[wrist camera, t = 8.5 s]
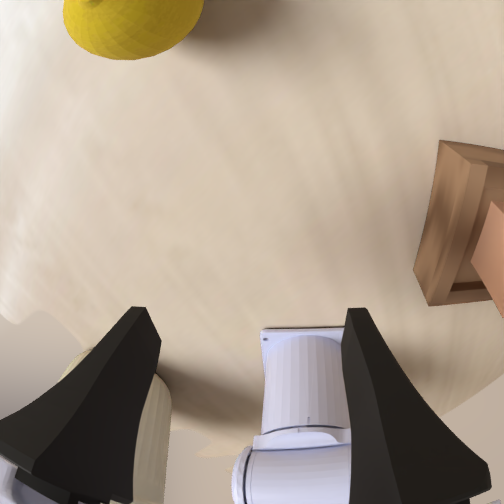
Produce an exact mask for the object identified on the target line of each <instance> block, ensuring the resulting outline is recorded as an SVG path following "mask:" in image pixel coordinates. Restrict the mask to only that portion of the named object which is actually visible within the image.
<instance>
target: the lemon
mask: <svg viewBox="0 0 504 504" xmlns="http://www.w3.org/2000/svg"><path fill="white" fill-rule="evenodd" d="M203 5H204V0H64V7H63V18H64V24H65V26H66V29H67V31H68V33H69V35H70V36H71V38H72V39H73V40H74V41H75V42H76V44H78V45H79V46H80V47H82V48H83V49H85V50H87V51H88V52H90V53H92V54H95V55H98V56H102V57H105V58H109V59H114V60H136V59H141V58H146V57H151V56H154V55H157V54H159V53H161V52H164V51H166V50H168V49H170V48H172V47H173V46H174V45H176V44H177V43H179V42H180V41H181V40H183V39H184V38H185V37H186V36H187V34H188V33H189V32H190V31H191V30H192V29H193V28H194V26H195V24H196V23H197V21H198V19H199V18H200V15H201V12H202V8H203Z"/></svg>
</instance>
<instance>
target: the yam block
mask: <svg viewBox="0 0 504 504" xmlns="http://www.w3.org/2000/svg"><path fill="white" fill-rule="evenodd" d="M471 263H472V265H473V266H474V268H475V270H476V271H477V273H478V275H479V276H480V278H481V280H482V281H483V283H484V285H485V286H486V288H487V290H488V292H489V293H490V295H491V297H492V299H493V301H494V302H495V304H496V306H497V308H498V310H499V312H500V314H501V316H502V318H504V202H496V201H491V204H490V207H489V210H488V214H487V217H486V220H485V223H484V226H483V229H482V232H481V235H480V238H479V241H478V243H477V246H476V249H475V251H474V254H473V257H472V259H471Z"/></svg>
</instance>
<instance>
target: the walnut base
mask: <svg viewBox="0 0 504 504" xmlns="http://www.w3.org/2000/svg"><path fill="white" fill-rule="evenodd" d="M491 201H496V202H504V150H501V149H495V148H490V147H484V146H478V145H472V144H465V143H458V142H451V141H443V140H439V148H438V156H437V163H436V169H435V176H434V181H433V187H432V193H431V198H430V203H429V208H428V212H427V217H426V222H425V226H424V230H423V234H422V238H421V242H420V246H419V250H418V254H417V258H416V261H415V265H414V268H413V271H414V273H415V275H416V278H417V280H418V282H419V285H420V287H421V289H422V292H423V294H424V296H425V299H426V301H427V304H428V306H440V305H450V304H460V303H469V302H478V301H486V300H493V299H492V297H491V295H490V293H489V292H488V290H487V288H486V286H485V285H484V283H483V281H482V280H481V278H480V276H479V275H478V273H477V271H476V270H475V268H474V266H473V265H472V263H471V259H472V257H473V254H474V251H475V249H476V246H477V243H478V241H479V238H480V235H481V232H482V229H483V226H484V223H485V220H486V217H487V214H488V210H489V207H490V204H491Z"/></svg>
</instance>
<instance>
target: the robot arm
mask: <svg viewBox="0 0 504 504" xmlns="http://www.w3.org/2000/svg"><path fill="white" fill-rule="evenodd" d="M260 340H261V348H262V357H263V365H264V374H265V389H264V402H263V415H262V427H261V435H255V436H254V440H253V446H247V447H246V448H244V450H243V451H242V452H241V453H240V454H239V456H238V457H237V459H236V461H235V464H234V468H233V473H232V496H233V500H234V503H235V504H470V499H469V498H471V497H474V496H476V495H479V494H481V493H483V492H486V491H488V490H490V489H491V487H492V485H491V477H490V472H489V468H488V464H487V463H486V462H485V461H484V460H483V459H481V458H480V457H479V456H478V455H476V454H475V453H474V452H473V451H472V450H471V449H470V448H468V447H467V446H466V445H465V444H464V443H463V442H462V441H461V440H460V439H459V438H458V437H457V436H456V435H455V434H454V433H453V432H452V431H451V430H450V429H449V428H448V427H447V426H446V425H445V424H444V423H443V421H442V420H441V419H440V418H439V417H438V416H437V415H436V414H435V413H434V411H433V410H432V409H431V408H430V407H429V405H428V404H427V403H426V402H425V400H424V399H423V398H422V397H421V395H420V394H419V393H418V391H417V390H416V389H415V387H414V386H413V385H412V383H411V382H410V380H409V379H408V377H407V376H406V374H405V373H404V372H403V370H402V368H401V367H400V365H399V364H398V362H397V361H396V359H395V357H394V356H393V354H392V353H391V351H390V349H389V348H388V346H387V344H386V343H385V341H384V339H383V338H382V336H381V334H380V332H379V331H378V329H377V327H376V325H375V323H374V321H373V319H372V318H371V316H370V314H369V312H368V310H367V309H366V308H348V311H347V316H346V321H345V326H344V328H316V329H263V330H261V332H260ZM161 342H162V341H161V339H160V337H159V335H158V333H157V330H156V328H155V326H154V324H153V322H152V320H151V318H150V316H149V313H148V311H147V309H146V307H133V306H132V307H131V308H130V309H129V310H128V311H127V312H126V313H125V314H124V315H123V316H122V317H121V318H120V320H119V321H118V322H117V323H116V324H115V325H114V326H113V327H112V329H111V330H110V331H109V332H108V333H107V334H106V335H105V336H104V337H103V339H102V340H101V341H100V342H99V343H98V344H97V345H96V346H95V347H94V348H93V349H92V351H91V352H90V353H89V354H88V355H87V356H86V357H85V358H84V359H83V360H82V361H81V362H80V363H79V364H78V365H77V366H76V367H75V368H74V369H73V370H72V371H71V372H70V373H69V374H67V375H66V376H65V377H64V378H63V379H62V380H61V381H59V382H58V383H57V384H56V385H55V386H53V387H52V388H51V389H49V390H48V391H47V392H46V393H44V394H43V395H42V396H40V397H39V398H38V399H36V400H35V401H33V402H32V403H30V404H29V405H27V406H25V407H24V408H22V409H21V410H19V411H17V412H15V413H13V414H11V415H9V416H8V417H5V418H3V419H2V420H0V455H2V456H3V457H4V458H6V459H7V460H9V461H10V462H12V463H14V464H15V465H17V466H18V468H17V467H16V466H14V465H12V464H10V463H9V462H8V461H6V460H4V459H2V458H1V457H0V504H101V503H102V504H110V500H112V501H115V502H118V503H121V504H130V503H132V502H133V473H134V459H135V450H136V442H137V436H138V430H139V424H140V419H141V415H142V411H143V408H144V405H145V402H146V399H147V395H148V392H149V389H150V386H151V383H152V380H153V377H154V373H155V370H156V367H157V363H158V358H159V353H160V347H161ZM488 504H501V500H496V501H493V502H491V503H488Z"/></svg>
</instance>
